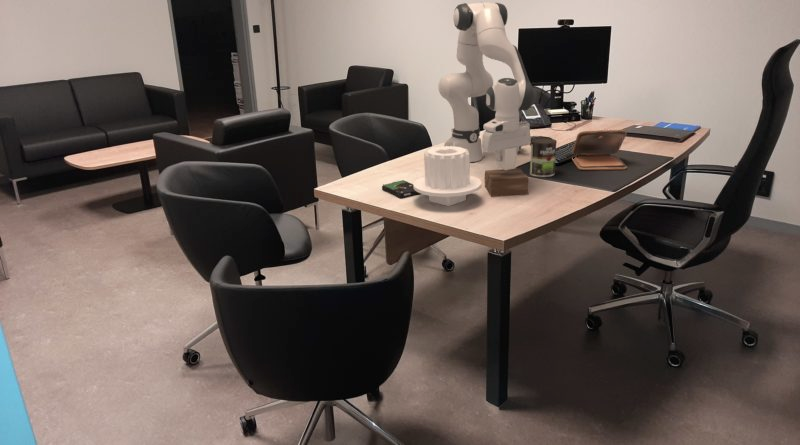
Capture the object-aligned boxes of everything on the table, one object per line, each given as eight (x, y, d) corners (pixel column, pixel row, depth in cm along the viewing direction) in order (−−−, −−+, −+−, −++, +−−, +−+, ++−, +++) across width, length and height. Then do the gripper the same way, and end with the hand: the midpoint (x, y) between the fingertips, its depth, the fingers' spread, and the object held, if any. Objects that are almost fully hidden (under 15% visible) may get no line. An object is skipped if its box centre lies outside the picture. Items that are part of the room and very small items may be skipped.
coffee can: (559, 175, 258) (561, 141, 253) (536, 178, 255) (538, 144, 250) (547, 169, 267) (549, 136, 262) (525, 172, 265) (526, 139, 260)
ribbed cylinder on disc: (400, 202, 234) (397, 152, 227) (444, 186, 250) (443, 139, 244) (450, 216, 217) (449, 163, 210) (495, 198, 233) (495, 148, 227)
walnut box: (484, 187, 248) (484, 170, 245) (519, 185, 248) (520, 168, 246) (491, 197, 236) (491, 179, 233) (528, 195, 236) (528, 177, 234)
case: (617, 158, 280) (619, 122, 275) (628, 170, 261) (631, 132, 255) (570, 159, 283) (572, 123, 277) (578, 171, 263) (580, 134, 258)
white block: (497, 167, 240) (497, 146, 237) (507, 165, 242) (508, 145, 239) (505, 170, 235) (505, 149, 233) (515, 168, 238) (516, 147, 235)
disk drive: (423, 195, 243) (403, 186, 255) (423, 188, 242) (403, 179, 254) (401, 200, 238) (381, 190, 250) (400, 193, 237) (381, 184, 249)
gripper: (524, 118, 240) (523, 154, 245) (479, 125, 231) (479, 162, 236) (534, 121, 235) (533, 157, 239) (489, 128, 226) (489, 165, 231)
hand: (506, 159), depth 238 cm, fingers closed on white block, 5 cm apart
